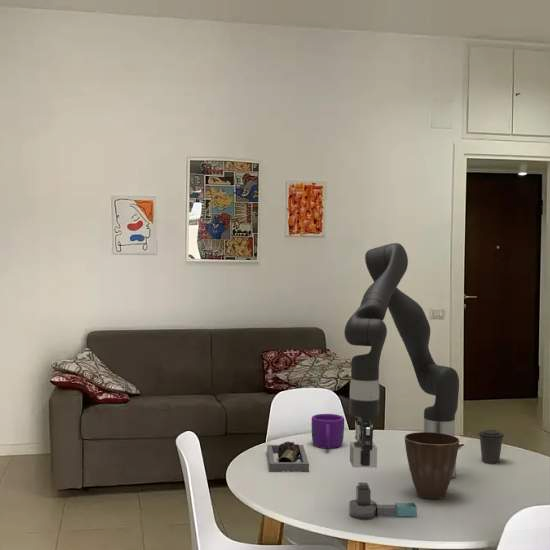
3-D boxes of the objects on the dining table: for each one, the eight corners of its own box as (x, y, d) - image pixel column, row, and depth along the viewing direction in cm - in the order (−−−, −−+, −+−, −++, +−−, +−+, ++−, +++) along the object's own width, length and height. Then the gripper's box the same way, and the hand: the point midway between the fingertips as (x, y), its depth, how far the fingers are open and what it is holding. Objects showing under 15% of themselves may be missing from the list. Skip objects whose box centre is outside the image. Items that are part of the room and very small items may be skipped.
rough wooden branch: (293, 471, 235) (293, 453, 235) (271, 470, 236) (271, 452, 236) (301, 456, 252) (301, 439, 252) (281, 455, 253) (281, 438, 253)
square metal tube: (372, 461, 198) (373, 441, 198) (376, 467, 192) (377, 447, 192) (349, 460, 198) (350, 441, 198) (353, 467, 192) (353, 447, 192)
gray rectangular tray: (302, 452, 257) (303, 444, 256) (308, 471, 234) (308, 463, 233) (267, 452, 256) (267, 444, 256) (269, 471, 233) (269, 463, 233)
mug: (311, 440, 272) (312, 413, 272) (343, 441, 272) (344, 413, 271) (310, 453, 255) (310, 423, 255) (344, 454, 254) (344, 424, 254)
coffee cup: (500, 459, 251) (501, 428, 251) (505, 465, 243) (506, 434, 243) (475, 458, 252) (476, 427, 252) (479, 464, 244) (480, 433, 244)
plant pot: (400, 486, 220) (401, 431, 220) (452, 487, 220) (453, 432, 219) (407, 503, 205) (408, 444, 205) (463, 504, 205) (464, 445, 204)
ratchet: (412, 510, 200) (412, 479, 199) (418, 519, 193) (418, 488, 192) (347, 510, 199) (347, 479, 199) (351, 519, 192) (351, 488, 192)
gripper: (384, 402, 188) (382, 470, 188) (374, 391, 202) (373, 454, 203) (353, 401, 188) (352, 469, 188) (346, 391, 202) (344, 454, 202)
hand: (363, 461), depth 195 cm, fingers closed on square metal tube, 6 cm apart
